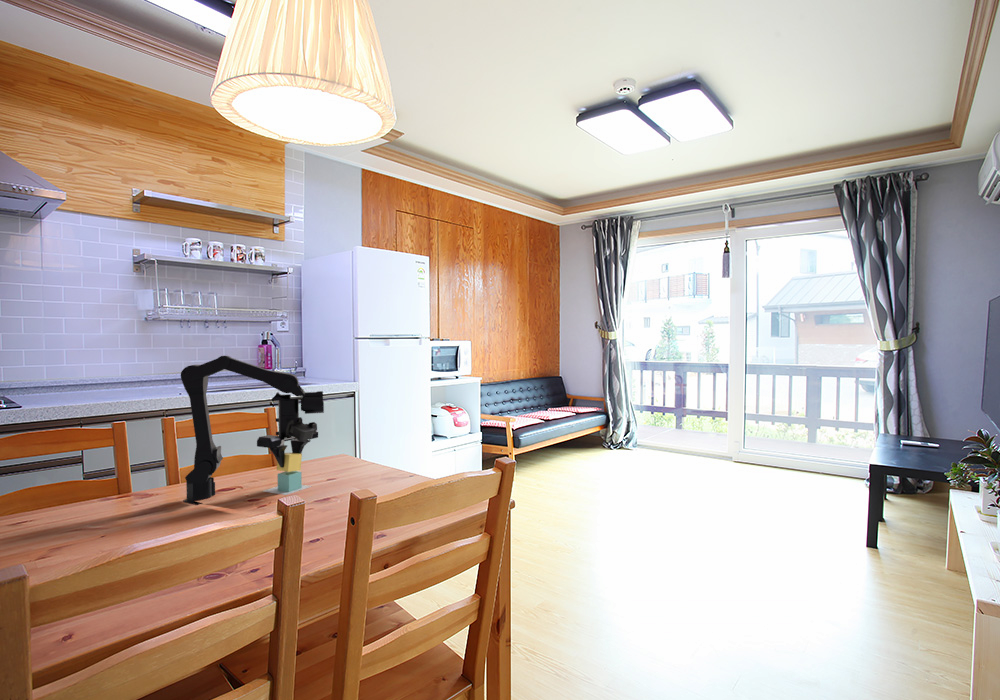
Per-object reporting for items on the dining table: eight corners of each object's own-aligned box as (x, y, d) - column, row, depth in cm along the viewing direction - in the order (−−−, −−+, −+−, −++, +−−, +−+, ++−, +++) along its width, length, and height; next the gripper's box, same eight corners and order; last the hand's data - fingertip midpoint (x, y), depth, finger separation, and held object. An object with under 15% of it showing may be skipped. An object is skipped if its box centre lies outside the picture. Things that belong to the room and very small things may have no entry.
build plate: (285, 497, 149) (285, 494, 149) (262, 493, 154) (262, 491, 154) (311, 488, 158) (311, 486, 158) (288, 485, 163) (288, 482, 163)
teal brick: (289, 491, 152) (288, 475, 152) (277, 490, 154) (277, 473, 154) (301, 487, 157) (301, 471, 157) (290, 486, 159) (290, 470, 159)
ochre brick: (287, 471, 152) (289, 454, 152) (276, 470, 154) (278, 453, 155) (300, 470, 156) (301, 453, 157) (289, 468, 158) (290, 452, 159)
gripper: (282, 420, 143) (283, 475, 143) (330, 412, 160) (331, 461, 160) (255, 418, 148) (255, 471, 148) (305, 410, 165) (305, 458, 165)
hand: (289, 465), depth 155 cm, fingers closed on ochre brick, 5 cm apart
